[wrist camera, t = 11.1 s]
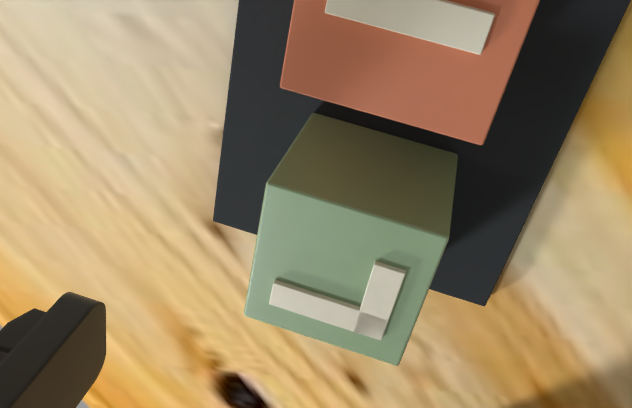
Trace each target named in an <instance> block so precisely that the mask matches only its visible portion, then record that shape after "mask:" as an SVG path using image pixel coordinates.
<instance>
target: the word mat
mask: <svg viewBox="0 0 632 408" xmlns="http://www.w3.org/2000/svg"><path fill="white" fill-rule="evenodd" d="M630 1H631V0H540V2H539V4H538V7H537V9H536V12H535V14H534V17H533V19H532V22H531V24H530V27H529V30H528V32H527V35H526V37H525V40H524V42H523V45H522V47H521V50H520V52H519V55H518V57H517V60H516V63H515V65H514V68H513V70H512V73H511V75H510V78H509V80H508V83H507V85H506V88H505V91H504V93H503V96H502V98H501V101H500V103H499V106H498V108H497V111H496V113H495V116H494V118H493V121H492V124H491V126H490V129H489V131H488V134H487V136H486V139H485V141H484V144H483V145H478V144H475V143H471V142H468V141H464V140H461V139H457V138H454V137H450V136H447V135H443V134H440V133H436V132H433V131H429V130H426V129H422V128H419V127H415V126H412V125H408V124H405V123H401V122H398V121H394V120H391V119H387V118H384V117H380V116H377V115H373V114H370V113H366V112H363V111H360V110H356V109H353V108H349V107H346V106H342V105H339V104H335V103H332V102H328V101H325V100H321V99H318V98H314V97H311V96H307V95H304V94H300V93H297V92H293V91H290V90H286V89H283V88H280V81H281V76H282V70H283V64H284V58H285V52H286V46H287V40H288V34H289V28H290V22H291V16H292V11H293V5H294V0H239V6H238V14H237V23H236V31H235V39H234V48H233V56H232V65H231V73H230V81H229V90H228V98H227V107H226V115H225V124H224V132H223V140H222V149H221V157H220V166H219V174H218V182H217V191H216V199H215V208H214V216H213V221H215V222H218V223H221V224H224V225H227V226H231V227H234V228H237V229H240V230H243V231H246V232H250V233H253V234H256V235H257V234H258V228H259V222H260V216H261V210H262V204H263V199H264V193H265V187H266V182H267V181H268V179H269V178H270V176H271V175H272V173H273V172H274V170H275V169H276V167H277V166H278V164H279V163H280V161H281V160H282V158H283V157H284V155H285V154H286V152H287V151H288V149H289V148H290V146H291V145H292V143H293V142H294V140H295V139H296V137H297V136H298V134H299V133H300V131H301V130H302V128H303V127H304V125H305V124H306V122H307V121H308V119H309V118H310V116H311V115H312V113H317V114H320V115H324V116H327V117H331V118H334V119H338V120H341V121H345V122H348V123H352V124H355V125H358V126H362V127H365V128H369V129H372V130H376V131H379V132H383V133H386V134H390V135H393V136H397V137H400V138H404V139H407V140H410V141H414V142H417V143H421V144H424V145H428V146H431V147H435V148H438V149H442V150H445V151H449V152H452V153H456V154H457V155H458V160H457V169H456V179H455V188H454V197H453V206H452V215H451V224H450V234H449V240H448V242H447V245H446V247H445V250H444V252H443V255H442V257H441V260H440V262H439V265H438V267H437V270H436V273H435V275H434V278H433V280H432V283H431V285H430V288H429V289H431V290H434V291H437V292H440V293H444V294H447V295H450V296H453V297H456V298H459V299H463V300H466V301H469V302H472V303H475V304H479V305H482V306H485V305H486V303H487V301H488V299H489V297H490V295H491V293H492V290H493V288H494V286H495V284H496V282H497V280H498V278H499V276H500V274H501V272H502V269H503V267H504V265H505V263H506V261H507V259H508V257H509V255H510V253H511V251H512V248H513V246H514V244H515V242H516V240H517V238H518V236H519V234H520V232H521V230H522V227H523V225H524V223H525V221H526V219H527V217H528V215H529V213H530V211H531V209H532V206H533V204H534V202H535V200H536V198H537V196H538V194H539V192H540V190H541V188H542V185H543V183H544V181H545V179H546V177H547V175H548V173H549V171H550V169H551V167H552V164H553V162H554V160H555V158H556V156H557V154H558V152H559V150H560V148H561V146H562V143H563V141H564V139H565V137H566V135H567V133H568V131H569V129H570V127H571V125H572V122H573V120H574V118H575V116H576V114H577V112H578V110H579V108H580V106H581V104H582V101H583V99H584V97H585V95H586V93H587V91H588V89H589V87H590V85H591V83H592V80H593V78H594V76H595V74H596V72H597V70H598V68H599V66H600V64H601V62H602V59H603V57H604V55H605V53H606V51H607V49H608V47H609V45H610V43H611V41H612V38H613V36H614V34H615V32H616V30H617V28H618V26H619V24H620V22H621V20H622V17H623V15H624V13H625V11H626V9H627V7H628V5H629V3H630Z"/></svg>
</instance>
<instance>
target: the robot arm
mask: <svg viewBox="0 0 632 408" xmlns="http://www.w3.org/2000/svg"><path fill="white" fill-rule="evenodd" d="M105 356H106V307H105V305H104V303H102V302H99V301H96V300H93V299H90V298H87V297H84V296H81V295H78V294H75V293H72V292H67V293H65V294H64V295H62V296H61V297H60V298H59V299H58V300H57V302H56V303H55V304H54V305H53V306H52V307H51V308H50V309H49V310H48V311H47V312H44V311H41V310H38V309H35V308H34V309H32V310H31V311H29V312H27V313H25V314H23V315H21V316H19V317H18V318H16V319H14V320H12V321H10V322H8V323H7V324H6V325H5V326H4V327H3V328H2V329H1V331H0V408H76V407H77V405H78V404H79V403H80V401H81V400H82V398H83V397H84V396H85V394H86V393H87V391H88V390H89V389H90V387H91V386H92V384H93V383H94V382H95V380H96V379H97V377H98V375H99V373H100V371H101V369H102V366H103V363H104V360H105Z"/></svg>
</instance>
